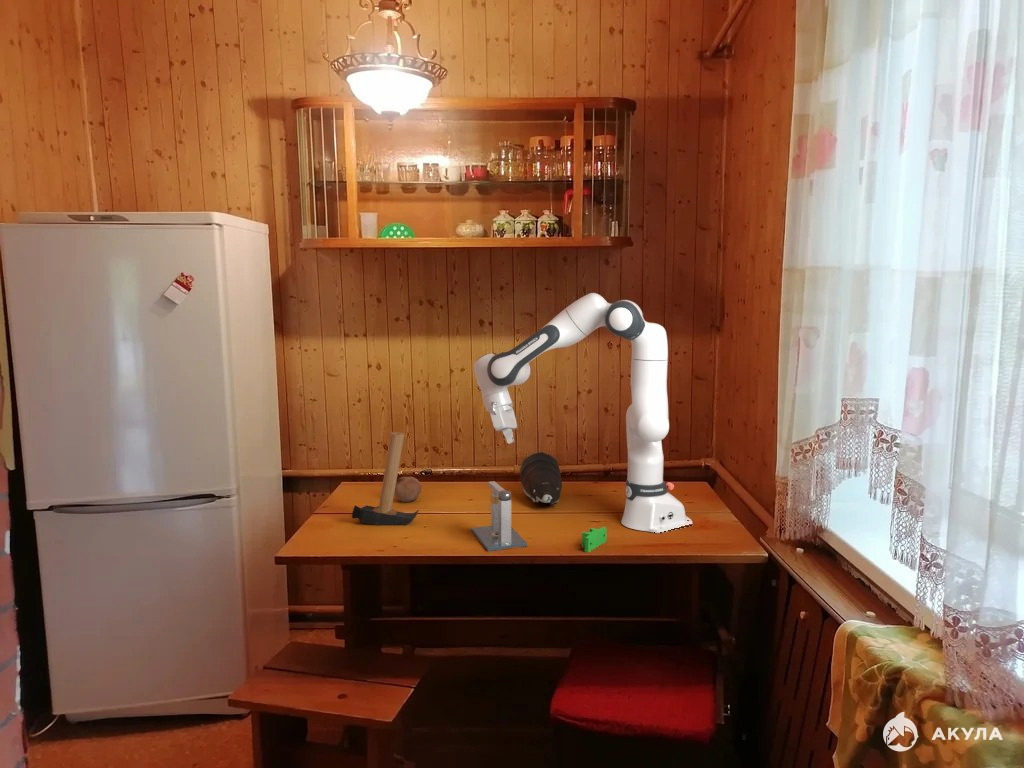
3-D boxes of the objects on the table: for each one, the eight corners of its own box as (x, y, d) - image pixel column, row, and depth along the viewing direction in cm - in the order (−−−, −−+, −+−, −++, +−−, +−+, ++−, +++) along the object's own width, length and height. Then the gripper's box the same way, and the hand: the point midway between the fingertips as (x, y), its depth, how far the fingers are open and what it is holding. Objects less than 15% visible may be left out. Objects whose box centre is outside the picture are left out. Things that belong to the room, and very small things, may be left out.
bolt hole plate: (508, 526, 222) (508, 523, 222) (527, 546, 205) (527, 542, 205) (471, 530, 218) (471, 527, 218) (488, 551, 201) (487, 547, 201)
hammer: (415, 527, 228) (431, 437, 224) (413, 532, 223) (429, 441, 219) (354, 515, 228) (369, 426, 224) (351, 520, 223) (366, 429, 219)
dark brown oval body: (528, 479, 232) (522, 448, 256) (521, 520, 237) (515, 486, 261) (572, 484, 234) (562, 453, 258) (564, 524, 239) (555, 490, 262)
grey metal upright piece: (497, 527, 218) (497, 480, 216) (512, 543, 205) (512, 493, 202) (486, 528, 217) (485, 481, 215) (500, 544, 203) (500, 494, 201)
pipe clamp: (595, 539, 211) (595, 524, 211) (606, 542, 209) (606, 527, 209) (576, 550, 202) (576, 535, 202) (588, 553, 200) (588, 537, 200)
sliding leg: (500, 530, 214) (500, 490, 212) (504, 534, 211) (504, 493, 209) (490, 532, 213) (490, 491, 211) (494, 535, 210) (493, 494, 208)
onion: (398, 511, 247) (385, 488, 243) (405, 496, 255) (392, 474, 252) (422, 503, 244) (409, 480, 241) (428, 489, 253) (416, 466, 249)
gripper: (499, 398, 220) (513, 440, 218) (513, 401, 240) (526, 439, 238) (481, 404, 221) (494, 446, 219) (496, 407, 241) (508, 445, 239)
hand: (511, 443), depth 229 cm, fingers closed
